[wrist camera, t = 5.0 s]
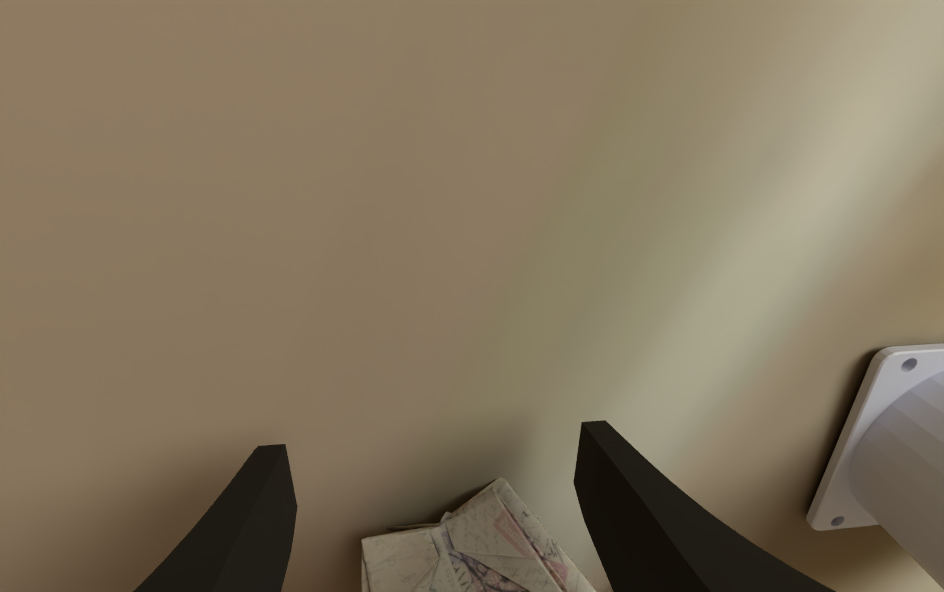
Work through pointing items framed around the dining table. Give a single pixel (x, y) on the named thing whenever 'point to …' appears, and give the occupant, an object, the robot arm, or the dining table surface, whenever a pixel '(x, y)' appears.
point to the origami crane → (472, 552)
